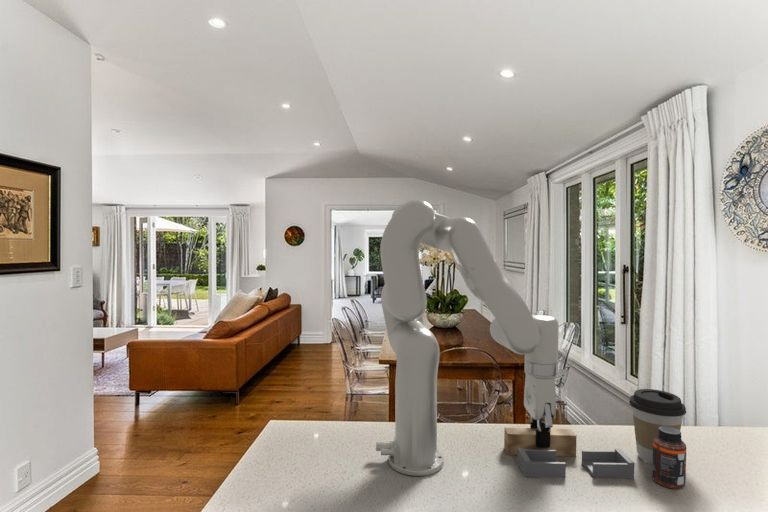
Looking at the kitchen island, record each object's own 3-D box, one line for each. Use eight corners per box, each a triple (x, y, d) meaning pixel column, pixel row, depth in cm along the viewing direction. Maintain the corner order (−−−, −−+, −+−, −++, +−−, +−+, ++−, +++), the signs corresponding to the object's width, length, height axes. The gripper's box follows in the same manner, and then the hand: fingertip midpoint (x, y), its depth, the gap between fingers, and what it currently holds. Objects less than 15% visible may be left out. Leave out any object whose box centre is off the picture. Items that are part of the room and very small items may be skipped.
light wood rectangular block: (507, 454, 106) (507, 434, 105) (504, 447, 109) (504, 427, 109) (576, 456, 105) (576, 435, 105) (570, 449, 108) (571, 429, 108)
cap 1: (525, 476, 96) (525, 461, 96) (517, 462, 102) (517, 447, 102) (565, 477, 96) (565, 461, 96) (555, 462, 102) (555, 448, 102)
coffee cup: (696, 471, 98) (699, 404, 97) (645, 471, 98) (647, 405, 97) (664, 447, 109) (665, 387, 109) (618, 447, 109) (619, 387, 109)
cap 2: (619, 463, 101) (620, 448, 101) (634, 478, 95) (634, 462, 95) (581, 462, 102) (581, 448, 102) (593, 477, 96) (593, 462, 95)
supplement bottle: (690, 492, 90) (692, 437, 90) (658, 488, 91) (660, 434, 91) (677, 476, 96) (679, 425, 96) (647, 473, 97) (648, 422, 97)
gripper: (515, 357, 114) (515, 427, 115) (536, 378, 98) (534, 460, 99) (545, 358, 114) (544, 428, 115) (570, 379, 98) (568, 460, 98)
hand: (539, 442), depth 107 cm, fingers closed on light wood rectangular block, 3 cm apart
